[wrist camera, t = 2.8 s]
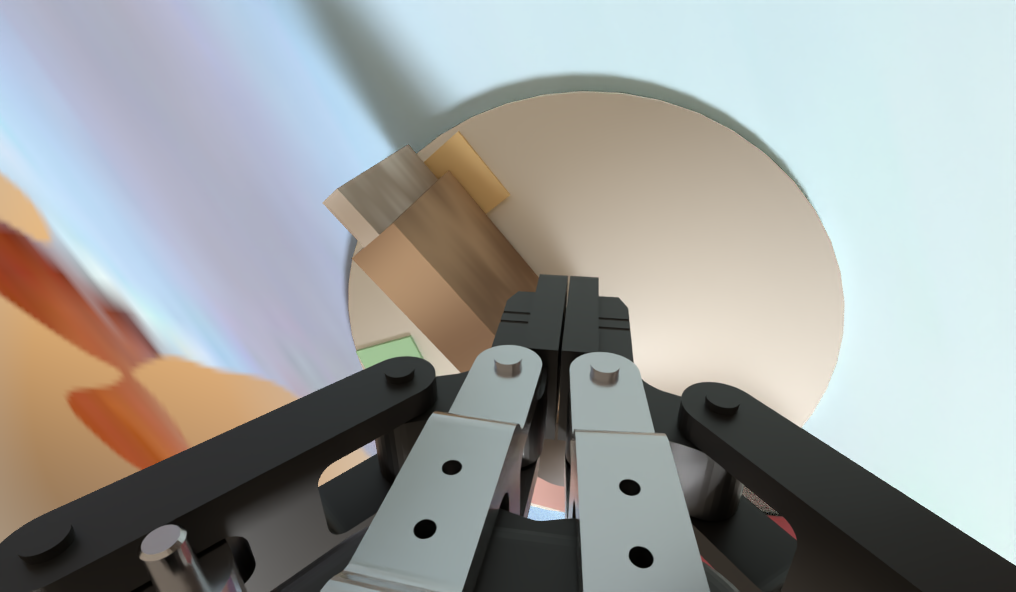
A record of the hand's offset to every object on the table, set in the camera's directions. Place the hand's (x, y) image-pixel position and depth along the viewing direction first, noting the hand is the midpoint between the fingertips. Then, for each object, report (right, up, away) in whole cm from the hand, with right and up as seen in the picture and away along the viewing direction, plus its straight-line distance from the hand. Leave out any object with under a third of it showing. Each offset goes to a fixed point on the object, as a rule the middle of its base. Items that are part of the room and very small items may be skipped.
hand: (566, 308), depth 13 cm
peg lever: (-2, +1, +12) cm, 12 cm away
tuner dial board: (+2, -2, +14) cm, 15 cm away
